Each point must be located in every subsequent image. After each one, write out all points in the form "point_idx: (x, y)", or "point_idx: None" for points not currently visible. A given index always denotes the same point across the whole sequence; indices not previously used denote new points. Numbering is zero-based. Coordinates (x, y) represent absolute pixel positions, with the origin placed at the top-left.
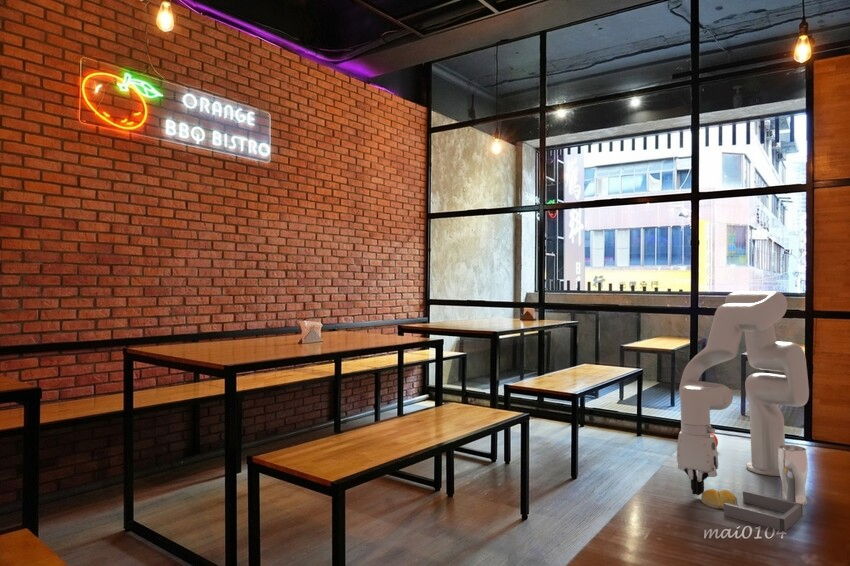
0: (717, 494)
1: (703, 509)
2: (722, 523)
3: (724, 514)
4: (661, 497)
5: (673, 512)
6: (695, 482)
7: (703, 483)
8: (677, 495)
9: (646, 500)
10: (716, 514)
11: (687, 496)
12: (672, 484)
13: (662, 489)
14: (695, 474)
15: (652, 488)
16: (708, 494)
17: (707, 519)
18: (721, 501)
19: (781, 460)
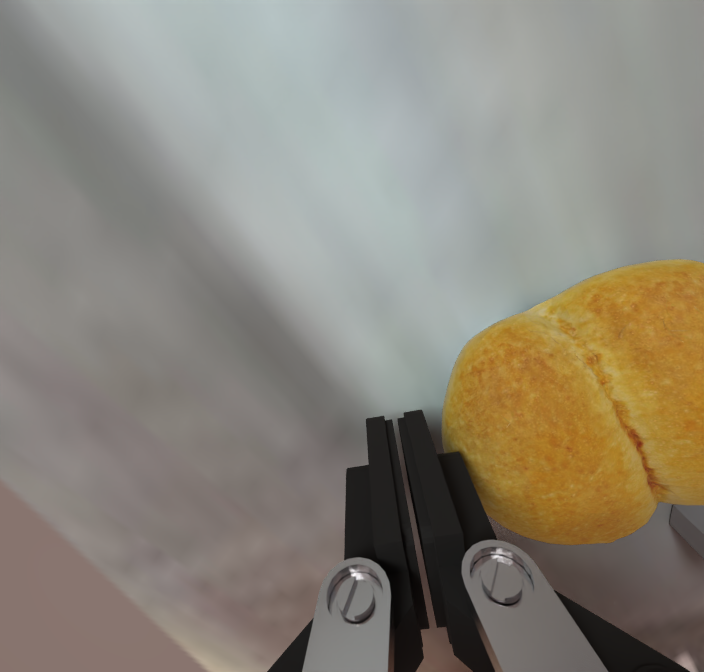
0: (648, 502)
1: (528, 539)
2: (692, 604)
3: (676, 528)
4: (242, 574)
5: (435, 659)
6: (439, 618)
7: (487, 526)
8: (264, 482)
9: (240, 648)
10: (623, 543)
11: (317, 445)
12: (18, 313)
13: (112, 472)
14: (386, 650)
15: (68, 508)
16: (570, 544)
17: (607, 617)
18: (671, 503)
19: None
